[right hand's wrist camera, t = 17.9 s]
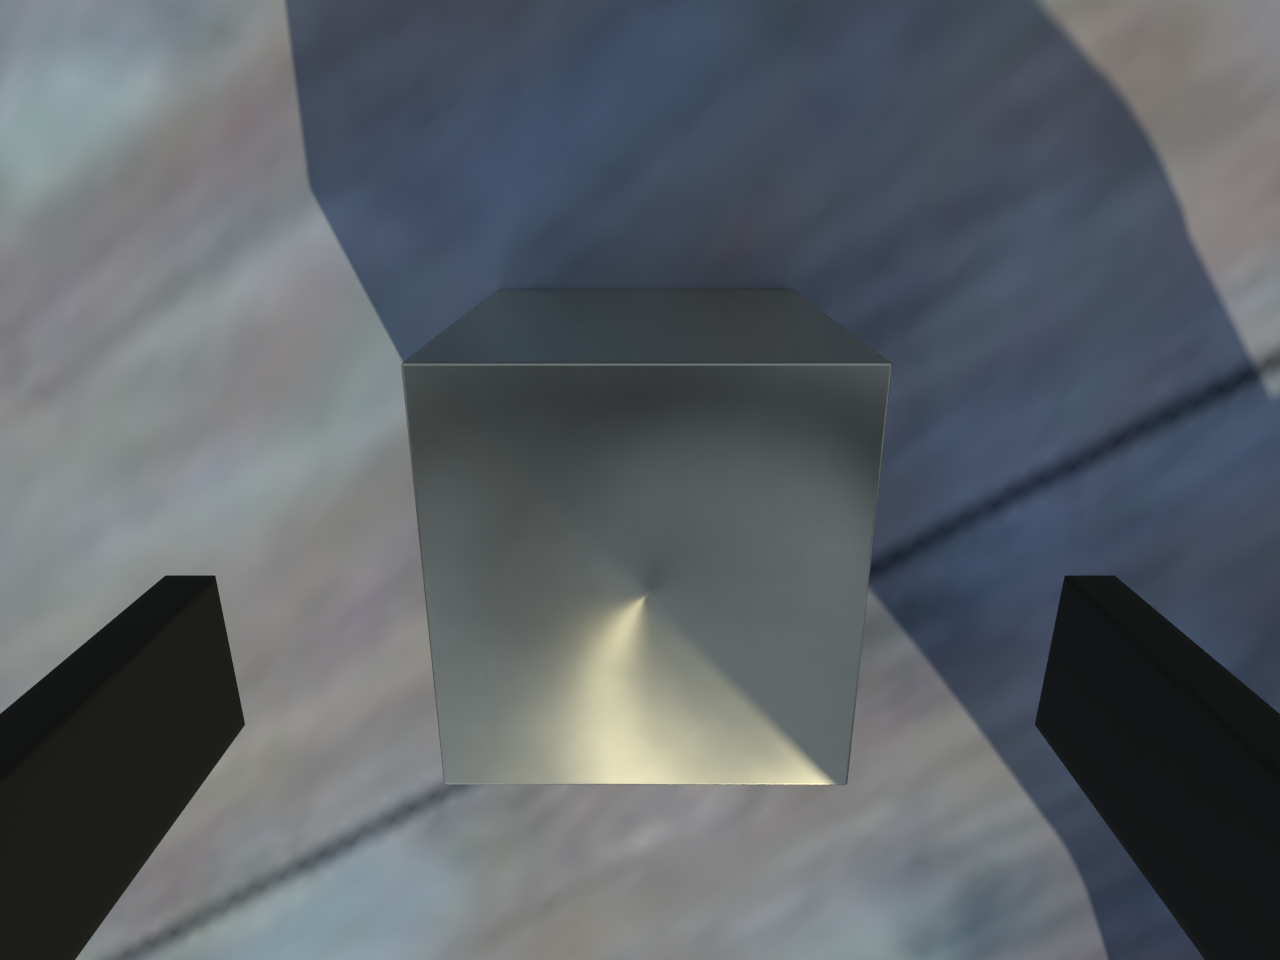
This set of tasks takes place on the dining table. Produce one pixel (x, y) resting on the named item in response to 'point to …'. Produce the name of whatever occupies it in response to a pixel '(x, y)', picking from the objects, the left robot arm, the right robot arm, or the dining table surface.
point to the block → (646, 535)
